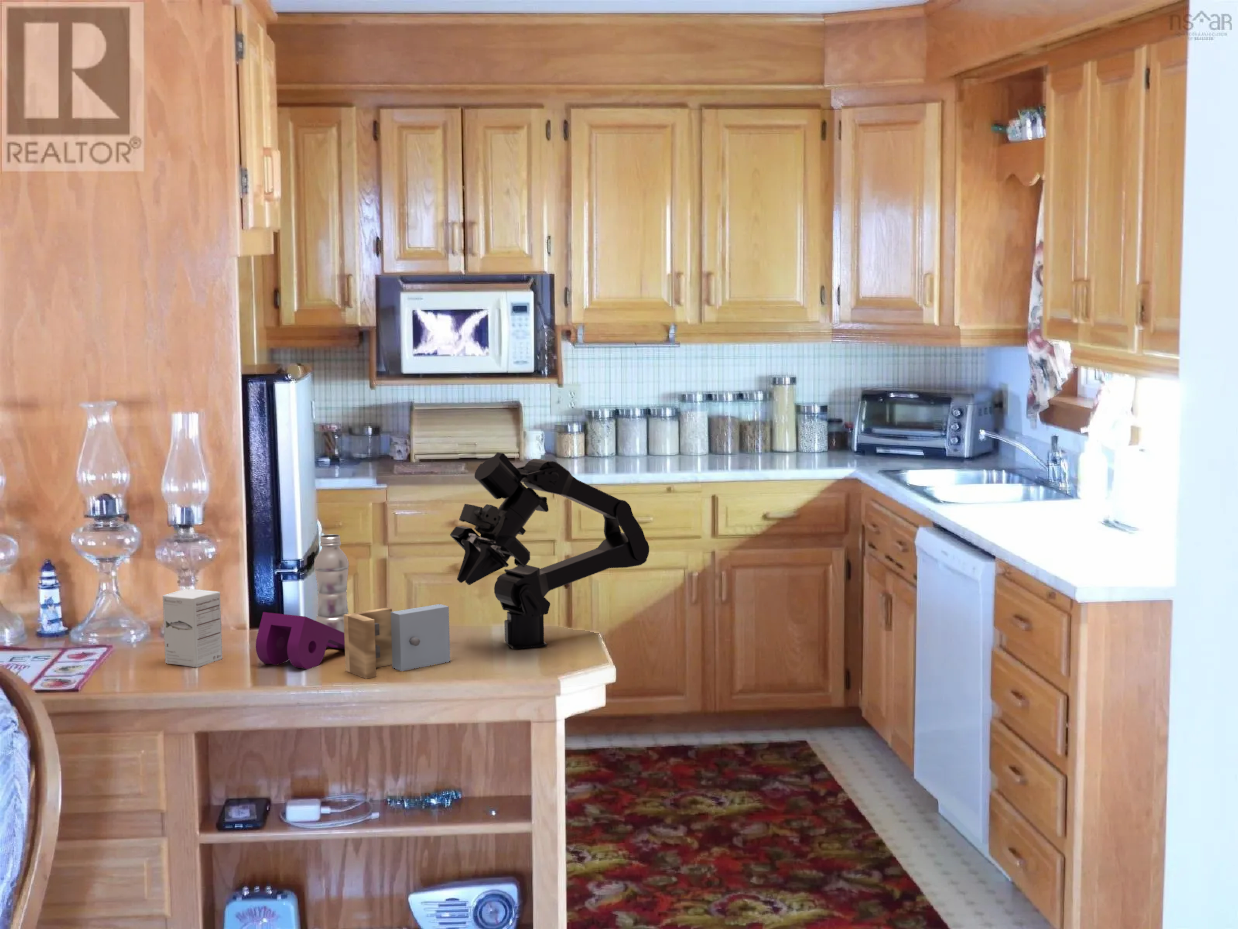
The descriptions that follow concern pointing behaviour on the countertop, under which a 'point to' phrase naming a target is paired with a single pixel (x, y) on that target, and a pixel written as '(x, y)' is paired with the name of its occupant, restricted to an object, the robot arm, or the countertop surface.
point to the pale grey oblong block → (420, 637)
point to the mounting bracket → (295, 640)
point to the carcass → (367, 641)
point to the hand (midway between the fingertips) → (462, 582)
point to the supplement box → (192, 627)
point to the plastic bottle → (331, 582)
